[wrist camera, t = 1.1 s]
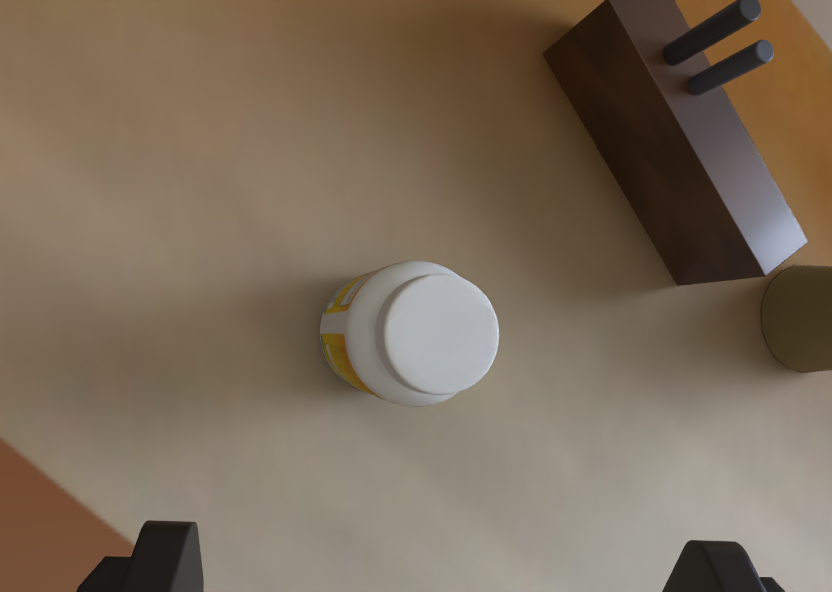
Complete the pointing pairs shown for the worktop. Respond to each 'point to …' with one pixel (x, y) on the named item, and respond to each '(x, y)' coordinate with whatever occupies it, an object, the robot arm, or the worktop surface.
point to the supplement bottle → (410, 333)
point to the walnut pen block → (679, 135)
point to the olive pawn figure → (800, 318)
